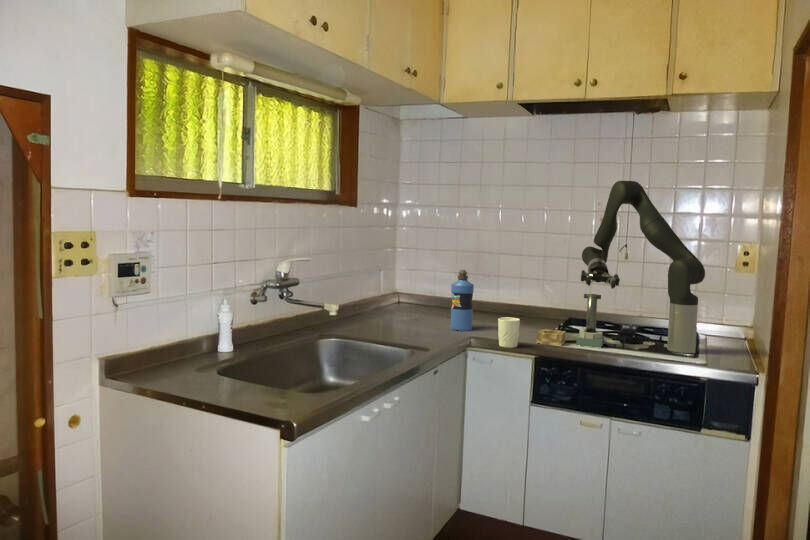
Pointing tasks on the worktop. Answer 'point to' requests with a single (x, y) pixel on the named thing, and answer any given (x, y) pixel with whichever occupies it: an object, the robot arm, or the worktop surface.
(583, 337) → the chuck block
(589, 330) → the chuck key
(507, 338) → the white cup
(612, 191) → the robot arm
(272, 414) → the worktop surface
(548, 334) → the tan flat block
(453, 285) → the water bottle
